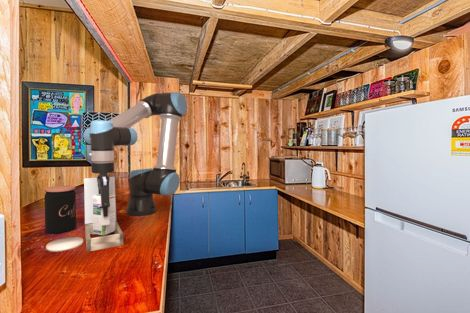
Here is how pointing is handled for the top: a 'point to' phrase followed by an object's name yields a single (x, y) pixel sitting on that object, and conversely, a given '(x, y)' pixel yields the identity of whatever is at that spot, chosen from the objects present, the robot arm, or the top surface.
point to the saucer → (64, 244)
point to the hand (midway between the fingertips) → (104, 221)
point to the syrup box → (97, 215)
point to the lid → (90, 191)
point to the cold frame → (103, 239)
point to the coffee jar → (60, 209)
